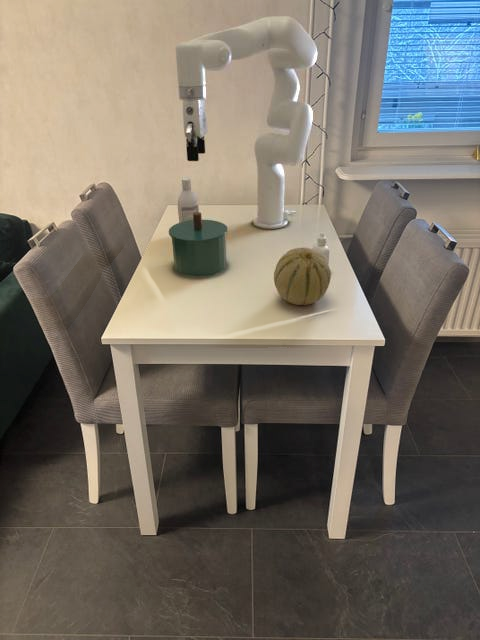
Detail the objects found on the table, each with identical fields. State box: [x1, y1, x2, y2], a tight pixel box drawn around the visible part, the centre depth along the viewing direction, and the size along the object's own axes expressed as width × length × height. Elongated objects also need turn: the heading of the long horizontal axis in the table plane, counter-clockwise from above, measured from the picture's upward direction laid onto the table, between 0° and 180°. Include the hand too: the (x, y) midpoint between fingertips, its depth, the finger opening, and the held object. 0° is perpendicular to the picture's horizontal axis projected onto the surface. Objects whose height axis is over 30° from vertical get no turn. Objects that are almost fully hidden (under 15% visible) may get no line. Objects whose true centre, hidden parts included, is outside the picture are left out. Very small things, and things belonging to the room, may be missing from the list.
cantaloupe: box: [273, 247, 332, 306], centre depth 128 cm, size 15×15×15 cm
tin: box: [171, 234, 227, 278], centre depth 149 cm, size 16×16×12 cm
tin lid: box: [168, 211, 229, 242], centre depth 145 cm, size 17×17×6 cm
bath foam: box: [177, 177, 200, 223], centre depth 169 cm, size 7×7×20 cm
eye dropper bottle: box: [312, 232, 330, 265], centre depth 144 cm, size 4×6×12 cm
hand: (196, 157), depth 146 cm, fingers open, 9 cm apart
